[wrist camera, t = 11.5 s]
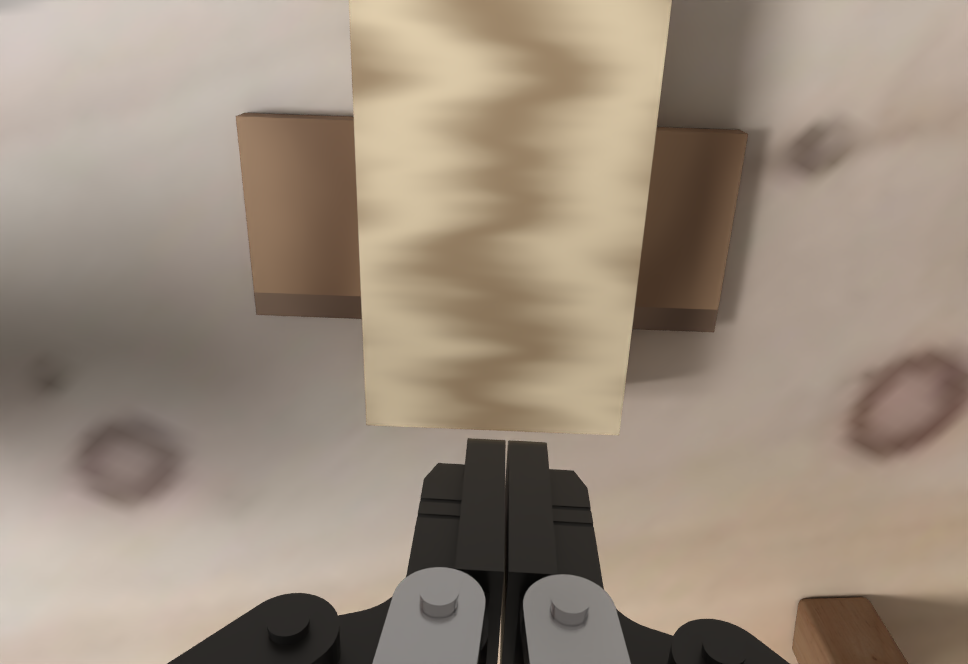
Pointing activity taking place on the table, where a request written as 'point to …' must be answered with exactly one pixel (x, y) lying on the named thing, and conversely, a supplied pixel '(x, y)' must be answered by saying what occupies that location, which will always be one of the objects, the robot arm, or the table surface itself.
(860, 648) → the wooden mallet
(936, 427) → the table surface
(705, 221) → the floor panel
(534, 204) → the oak plank
